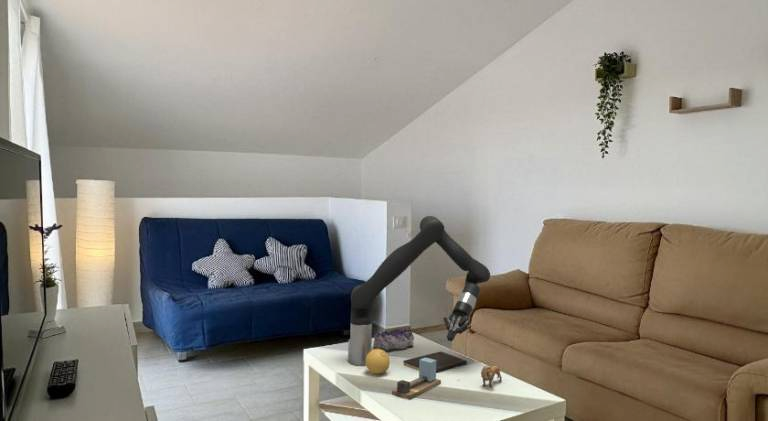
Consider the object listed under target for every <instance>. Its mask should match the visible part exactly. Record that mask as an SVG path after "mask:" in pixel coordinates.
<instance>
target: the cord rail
mask: <svg viewBox="0 0 768 421" xmlns="http://www.w3.org/2000/svg"><path fill="white" fill-rule="evenodd" d="M439 385H442V380H441V379H439V378H436V379H435V380H433V381H431V382H429V381H427V377H424V378H422V379H419V377H417V378H415V379H413V380H411V381H408V380H404V379H401V380H399V381H397V383H396V386H397V387H396V388H394V389H392V390H391V395H393V396H396V397H400V398H402V399H406V400H410V401H411V400H412V399H414V398H416V396H417V397H418V396H420V395H423V394H424V393H426V392H427V391H430V390H432V389H433V388H436V387H438V386H439Z"/></svg>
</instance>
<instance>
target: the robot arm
mask: <svg viewBox="0 0 768 421" xmlns="http://www.w3.org/2000/svg"><path fill="white" fill-rule="evenodd" d="M419 229H420V231H419V232H418V233H417V234H416V235H415V236H414V237H413V238H412V239H411V240H409V241H408V242H406V243H405V244H402V245H400V246H399V247H397V248H396V249H394V250H393V251H392V252H391V253H390V254H389V255H388V256H387V257H386V258H385V259H384V261H382V262H381V263H380V265H379V266H378V267H377V269H376V270H375V272H374V273H373V274H372V275H371V277H369V279H368V280H366V281H365V282H364V283H363V284H359V285H356V286H355V287H354V288H353V289H352V291H351V294H350V307H351V308H350V330H349V331H350V332H349V333H350V338H349V339H348V343H347V344H348V346H347V347H348V348H347V351H348V352H347V361H348V362H349V363H350V364H351V365H354V366H366V363H365V360H366V356H367V355H368V353H369V352H370V351H372V347H373V346H372V344H373V343H372V342H373V341H372V339H373V338H372V337H373V302H374V301H375V299H376V298H377V297H378V296H379V294H381V293H382V291H383V290H384V289H385V288H386V287H387V286H389V285H390V284H392V283H393V282H394V281H395V280H396V279H397V278H398V277H400V276H401V275H402V274H403V273H404V272H406V270H407V269H408V268H409V267H410V266H411V264H413V263H414V262H415V261H416V260H417V259H418V258H419V257H420V256H421V255H422V254H423V253H424V252H425V251H426V250H427V249H428V248H430V247H431V246H433V244H435V243H436V244H437V245H438V246H439V247H440V248H441V249H442V250H443V251H444V252H445V254H446V255H447V256H448V257H449V258H450V259H451V260H452V261H453V263H455V264H456V266H458V267H459V268H460V270H461V271H464V272H467V273H466V276H465V282H464V287H463V289H462V291H461V293H460V295H459V297H458V298H457V300H456V303H455V305H454V307H453V309H452V311H451V312H452V313H451V314H450V315H449V317H443V322H444V325H445V328H446V329H447V331H448V333H447V335H446V339H447V341H448V342H452V341H454V339H455V337H456V335H458V334H459V335H461V334H462V333H464V332H466V331H467V330H469V329H470V328H471V327H472V324H471V323H470V321H469V319H470V317H471V315H472V312H473V311H474V308H475V306H476V302H477V300H478V297H479V295H480V293H481V289H480V287H479V284H484V283H487V282H489V281H490V278H491V273H490V269H488V267H487V266H486V265H484V264H483V263H482V262H480V261H478V260H477V259H475V258H473V257H472V256H471V255H470V254H469V253H468V251H466V249H465V248H464V247H462V246H461V245H460V244H459V243H458V242H457V241H455V239H454V238H452V237H451V236H450V235H449V233H447V232H446V230H445V225H444V223H443V222H442V221H441V220H440V219H439V218H437V217H435V216H432V215H427V216H424V217H423V218H422V219H421V221H420V222H419Z"/></svg>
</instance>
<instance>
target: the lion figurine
mask: <svg viewBox="0 0 768 421" xmlns="http://www.w3.org/2000/svg"><path fill="white" fill-rule="evenodd" d="M480 374H481V375H480V377H481V378H482V383H483V384H481V386H482V387H486V382H488V388H489V389H491V388H493V385H492V384H493V382H494V378H495V376H496V375H497V377H496V379H499V380H498V382H499V383H502V382H503V381H502V375H501V369H500V367H499V366H498V365H492V366H489V365H484V366H482V368H481V372H480Z"/></svg>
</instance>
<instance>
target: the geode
mask: <svg viewBox="0 0 768 421" xmlns="http://www.w3.org/2000/svg"><path fill="white" fill-rule="evenodd" d="M373 339H374V341H372V342H373V343H372V344H373V346H372V347H373V349H381V350H383V351H385V352H387V351H389V352H390V351H393V350H397V351H398V350H402V351H403V350H406V349H408V348H413V347H414V339H415V337H414V333H413V332H412V330H411V329H410V328H409V329H403V328H402V329H399V328H395V329H393V330H390V331H386V330H385V331H379V332H377V333H375V334H374V335H373Z"/></svg>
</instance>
